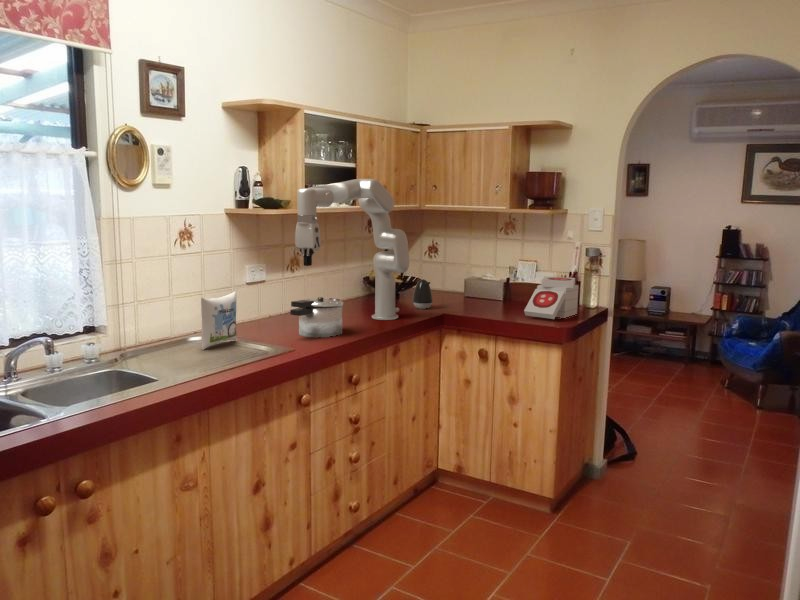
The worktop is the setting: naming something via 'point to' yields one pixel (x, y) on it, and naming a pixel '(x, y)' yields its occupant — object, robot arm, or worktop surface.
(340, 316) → the cooker pot
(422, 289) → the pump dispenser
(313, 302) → the cooker lid
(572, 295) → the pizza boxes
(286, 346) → the worktop surface
